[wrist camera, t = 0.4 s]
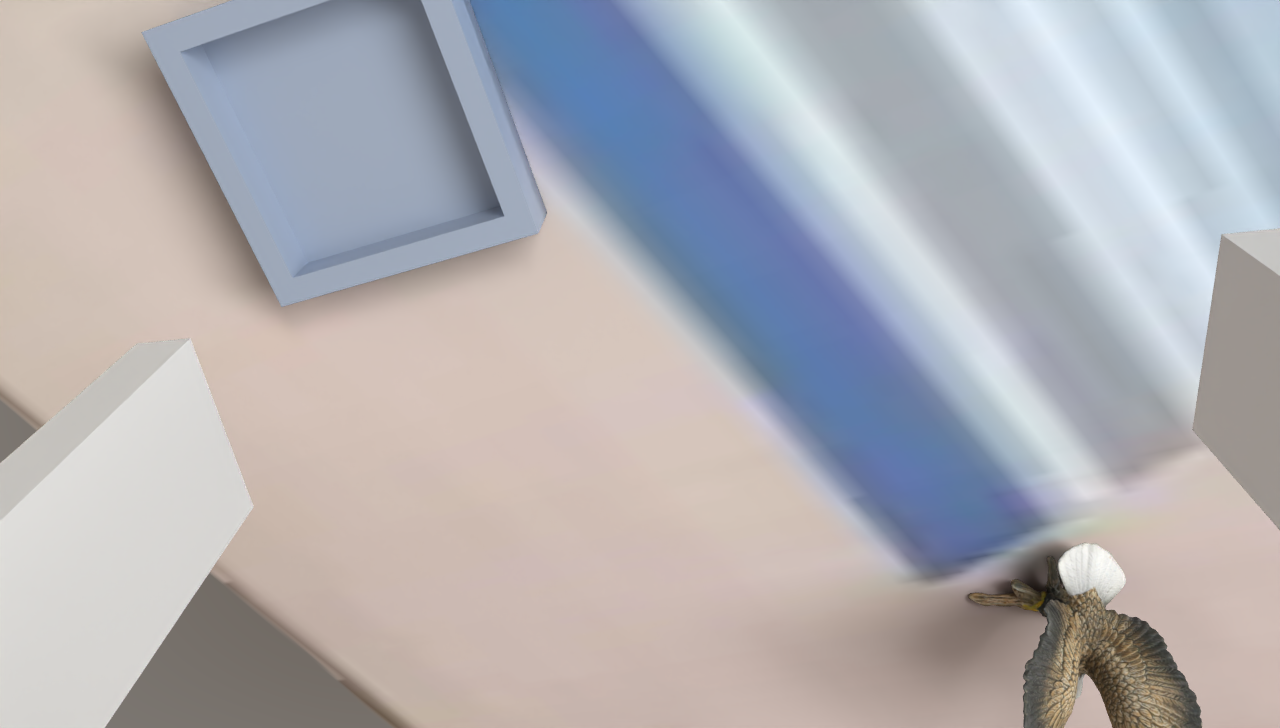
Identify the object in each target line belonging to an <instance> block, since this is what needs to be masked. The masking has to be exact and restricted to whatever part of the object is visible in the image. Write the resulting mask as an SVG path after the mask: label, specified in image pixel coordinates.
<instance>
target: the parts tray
mask: <svg viewBox="0 0 1280 728" xmlns="http://www.w3.org/2000/svg"><path fill="white" fill-rule="evenodd" d="M141 33H142V35H143V36H144V38H145V40H146V42H147V44H148V46H149V48H150V50H151V52H152V54H153V56H154V58H155V60H156V62H157V64H158V66H159V68H160V70H161V72H162V74H163V76H164V78H165V80H166V82H167V83H168V85H169V87H170V89H171V91H172V93H173V95H174V97H175V99H176V101H177V103H178V105H179V107H180V109H181V111H182V113H183V115H184V117H185V119H186V121H187V123H188V125H189V127H190V129H191V130H192V132H193V134H194V136H195V138H196V140H197V142H198V144H199V146H200V148H201V150H202V152H203V154H204V156H205V158H206V160H207V162H208V164H209V166H210V168H211V170H212V172H213V174H214V176H215V177H216V179H217V181H218V183H219V185H220V187H221V189H222V191H223V193H224V195H225V197H226V199H227V201H228V203H229V205H230V207H231V209H232V211H233V213H234V215H235V217H236V219H237V221H238V223H239V224H240V226H241V228H242V230H243V232H244V234H245V236H246V238H247V240H248V242H249V244H250V246H251V248H252V250H253V252H254V254H255V256H256V258H257V260H258V262H259V264H260V266H261V268H262V270H263V271H264V273H265V275H266V277H267V279H268V281H269V283H270V285H271V287H272V289H273V291H274V293H275V295H276V297H277V299H278V301H279V303H280V305H281V307H283V306H287V305H290V304H294V303H297V302H300V301H304V300H307V299H311V298H314V297H318V296H321V295H325V294H328V293H332V292H335V291H339V290H342V289H346V288H349V287H353V286H356V285H360V284H363V283H367V282H370V281H374V280H377V279H381V278H384V277H388V276H391V275H395V274H398V273H402V272H405V271H409V270H412V269H416V268H419V267H423V266H426V265H430V264H433V263H437V262H440V261H444V260H447V259H451V258H454V257H458V256H461V255H464V254H468V253H471V252H475V251H478V250H482V249H485V248H489V247H492V246H496V245H499V244H503V243H506V242H510V241H513V240H517V239H520V238H524V237H527V236H531V235H534V234H538V233H539V230H540V228H541V226H542V223H543V221H544V219H545V216H546V214H547V211H546V208H545V206H544V203H543V200H542V198H541V195H540V192H539V189H538V187H537V184H536V181H535V178H534V176H533V173H532V170H531V167H530V165H529V162H528V159H527V156H526V154H525V151H524V148H523V146H522V143H521V140H520V137H519V135H518V132H517V129H516V126H515V124H514V121H513V118H512V115H511V113H510V110H509V107H508V104H507V102H506V99H505V96H504V94H503V91H502V88H501V85H500V83H499V80H498V77H497V74H496V72H495V69H494V66H493V63H492V61H491V58H490V55H489V53H488V50H487V47H486V44H485V42H484V39H483V36H482V33H481V31H480V28H479V25H478V22H477V20H476V17H475V14H474V11H473V9H472V6H471V3H470V1H469V0H232V1H229V2H226V3H223V4H220V5H217V6H215V7H212V8H209V9H206V10H203V11H200V12H198V13H195V14H192V15H189V16H186V17H183V18H181V19H178V20H175V21H172V22H169V23H166V24H164V25H161V26H158V27H155V28H152V29H149V30H147V31H144V32H141Z"/></svg>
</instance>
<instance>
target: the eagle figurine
mask: <svg viewBox="0 0 1280 728" xmlns="http://www.w3.org/2000/svg"><path fill="white" fill-rule="evenodd" d="M1047 563H1048V581H1047V585H1046V589H1047V591H1040V592H1038V591H1036V590H1034V589H1032V588H1031V587H1029V586H1028V585H1026V584H1024V583H1023V582H1021V581H1019V580H1017V579H1014V580H1012V581H1011V587H1012V589H1013V591H1014V593H1009V594H1000V595H987V594H983V593H972V594H969V599H970V600H972V601H974V602H976V603H979V604H981V605H984V606H990V605H996V606H1015V605H1016V606H1018V607H1020V608H1023V609H1025V610H1033V611H1039V612H1040V613H1041V614H1042V615H1043V616H1045V617H1047V621H1048V625H1047V626H1046V627H1045V633H1043V634H1042V635H1041V636H1040V642H1039V644H1038V648H1037V649H1036V650H1034V653H1033V658H1032V659H1030V660H1029V661H1028V662H1027V663H1026V665H1025V669H1026V670H1025V672H1024V674H1023V678H1024V680H1025V681H1026V683H1025V684H1024V685H1023V689H1024V691H1025V693H1024V696H1023V701H1024V710H1023V713H1024V728H1064V726H1065V724H1066V722H1067V720H1068V718H1069V716H1070V715H1071V713H1072V710H1073V706H1074V703H1075V699H1077V698H1078V697H1080V695H1081V691H1082V685H1083V678H1084V675H1085V674H1087V675H1088V676H1089V677H1090V678H1091V679H1092V680H1093V682H1094V683H1095V685H1096V687H1097V688H1098V690H1099V692H1100V694H1101V696H1102V699H1103V702H1104V704H1105V707H1106V710H1107V713H1108V716H1109V719H1110V721H1111V724H1112V727H1113V728H1202V720H1201V718H1200V714H1201V710H1200V707H1199V705H1198V704H1197V702H1196V700H1197V697H1196V695H1195V693H1194V692H1193V691H1192V690H1190V689H1189V687H1188V683H1187V681H1186V679H1185V676H1184V675H1183V674H1182V673H1181V672H1180V671H1178V670H1177V664H1176V663H1175V662H1174V660H1173V657H1172V656H1171V654H1170V653H1169V652H1168V651H1167V650H1166V649H1167V645H1166V644H1165V642H1164V639H1163V637H1161V636H1160V635H1159V634H1158V632H1157V631H1156V630H1155V629H1152V628H1151V627H1150V626H1149V624H1148V623H1147V622H1146V621H1141V620H1140V619H1139V618H1137V617H1133V618H1132V617H1129V616H1127V615H1125V614H1119V615H1118V614H1117V613H1116V611H1115V610H1106V609H1105V607H1106V605H1107V604H1108V603H1109V602H1110V601H1111V600H1112V599H1113V598H1114V597H1115V596H1116V595H1117V593H1118V592H1119V591H1120V590H1121V589H1122V588H1123V586H1124V585H1125V583H1126V580H1125V576H1124V573H1123V571H1122V569H1121V568H1120V567H1119V565H1118V564H1117V563H1116V561H1115V560H1114V558H1113V556H1112V555H1111V554H1110V553H1109V552H1108V551H1106V550H1104V549H1102V548H1101V547H1100V546H1099V545H1097V544H1088V543H1082V544H1080V545H1077V546H1074V547H1072V548H1071V549H1069V550H1068V551H1066V552H1065V553H1064V554H1063V555H1062V557H1061V558H1060V559H1059V561H1058V571H1059V575H1060V578H1061V580H1062V582H1063V585H1064V587H1063V588H1062V587H1061V585H1060V578H1059V576H1058V573H1057V569H1056V562H1055V560H1054V558H1053V557H1050V556H1048V557H1047Z"/></svg>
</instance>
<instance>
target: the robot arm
mask: <svg viewBox="0 0 1280 728" xmlns="http://www.w3.org/2000/svg"><path fill="white" fill-rule="evenodd" d="M1192 430H1193V431H1194V432H1195V433H1196V435H1197V436H1198V437H1199V438H1200V439H1201V440H1202V441H1203V443H1204V444H1205V445H1206V446H1207V447H1208V448H1209V449H1210V451H1211V452H1212V453H1213V454H1214V455H1215V456H1216V457H1217V459H1218V460H1219V461H1220V462H1221V463H1222V464H1223V466H1224V467H1225V468H1226V469H1227V470H1228V471H1229V472H1230V474H1231V475H1232V476H1233V477H1234V478H1235V479H1236V480H1237V482H1238V483H1239V484H1240V485H1241V486H1242V487H1243V488H1244V490H1245V491H1246V492H1247V493H1248V494H1249V495H1250V497H1251V498H1252V499H1253V500H1254V501H1255V502H1256V503H1257V505H1258V506H1259V507H1260V508H1261V509H1262V510H1263V511H1264V513H1265V514H1266V515H1267V516H1268V517H1269V518H1270V519H1271V521H1272V522H1273V523H1274V524H1275V525H1276V526H1277V527H1278V529H1279V530H1280V228H1279V229H1269V230H1259V231H1249V232H1239V233H1230V234H1222V235H1221V241H1220V248H1219V255H1218V262H1217V268H1216V275H1215V282H1214V288H1213V295H1212V302H1211V308H1210V315H1209V322H1208V329H1207V335H1206V342H1205V349H1204V355H1203V362H1202V369H1201V376H1200V382H1199V389H1198V396H1197V402H1196V409H1195V416H1194V423H1193V429H1192ZM253 507H254V506H253V504H252V501H251V498H250V496H249V493H248V490H247V488H246V485H245V482H244V480H243V477H242V474H241V472H240V469H239V466H238V464H237V461H236V458H235V456H234V453H233V450H232V448H231V445H230V443H229V440H228V437H227V435H226V432H225V429H224V427H223V424H222V421H221V419H220V416H219V413H218V411H217V408H216V405H215V403H214V400H213V397H212V395H211V392H210V389H209V387H208V384H207V381H206V379H205V376H204V373H203V371H202V368H201V365H200V363H199V360H198V357H197V355H196V352H195V350H194V347H193V344H192V342H191V339H190V338H188V339H178V340H169V341H159V342H149V343H139V344H136V345H135V346H133V347H132V348H131V349H130V350H129V351H128V352H127V353H125V354H124V355H123V356H122V357H121V358H120V359H119V360H117V361H116V362H115V363H114V364H113V365H112V366H111V367H109V368H108V369H107V370H106V371H105V372H104V373H103V374H101V375H100V376H99V377H98V378H97V379H96V380H95V381H94V382H92V383H91V384H90V385H89V386H88V387H87V388H86V389H84V390H83V391H82V392H81V393H80V394H79V395H78V396H76V397H75V398H74V399H73V400H72V401H71V402H70V403H68V404H67V405H66V406H65V407H64V408H63V409H62V410H60V411H59V412H58V413H57V414H56V415H55V416H54V417H52V418H51V419H50V420H49V421H48V422H47V423H46V424H45V425H43V426H42V427H41V428H40V429H39V430H38V431H37V432H35V433H34V434H33V435H32V436H31V437H30V438H29V439H28V440H26V441H25V442H24V443H23V444H22V445H21V446H19V448H17V449H16V450H15V451H14V452H13V453H11V454H10V455H9V456H8V457H7V458H6V459H5V460H3V461H2V462H1V463H0V728H105V726H106V725H107V723H108V722H109V721H110V719H111V718H112V716H113V714H114V713H115V712H116V710H117V709H118V707H119V706H120V704H121V703H122V701H123V700H124V698H125V697H126V695H127V694H128V692H129V691H130V689H131V687H132V686H133V685H134V683H135V682H136V680H137V679H138V677H139V676H140V675H141V673H142V671H143V670H144V669H145V667H146V665H147V664H148V663H149V661H150V660H151V658H152V657H153V655H154V654H155V652H156V651H157V649H158V648H159V646H160V645H161V643H162V642H163V640H164V639H165V637H166V636H167V634H168V633H169V631H170V630H171V629H172V627H173V626H174V624H175V622H176V621H177V620H178V618H179V617H180V615H181V614H182V612H183V611H184V609H185V608H186V606H187V605H188V603H189V602H190V600H191V599H192V597H193V596H194V594H195V593H196V591H197V590H198V588H199V587H200V586H201V584H202V582H203V581H204V580H205V578H206V577H207V575H208V574H209V572H210V571H211V569H212V568H213V566H214V565H215V563H216V562H217V560H218V559H219V557H220V556H221V554H222V553H223V551H224V550H225V548H226V547H227V545H228V544H229V543H230V541H231V540H232V538H233V537H234V535H235V534H236V532H237V531H238V529H239V528H240V526H241V525H242V523H243V522H244V520H245V519H246V517H247V516H248V514H249V513H250V511H251V510H252V508H253Z"/></svg>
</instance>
